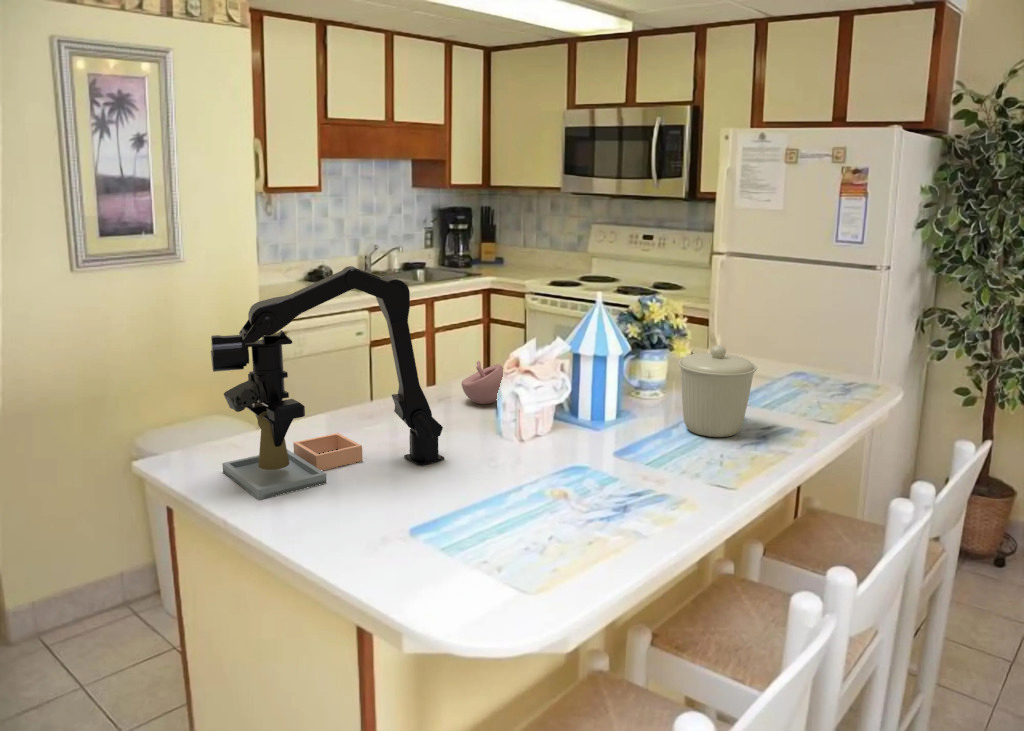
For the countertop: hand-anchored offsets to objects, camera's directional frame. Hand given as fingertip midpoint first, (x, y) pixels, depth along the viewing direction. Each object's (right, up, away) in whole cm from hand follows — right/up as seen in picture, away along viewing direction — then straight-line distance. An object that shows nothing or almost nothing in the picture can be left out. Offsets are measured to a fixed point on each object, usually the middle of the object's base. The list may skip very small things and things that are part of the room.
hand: (272, 443), depth 169 cm
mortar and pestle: (+40, +5, +55) cm, 68 cm away
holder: (+8, -5, +12) cm, 16 cm away
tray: (0, -7, +2) cm, 7 cm away
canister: (+96, 0, +35) cm, 102 cm away
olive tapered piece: (0, -5, +1) cm, 5 cm away
